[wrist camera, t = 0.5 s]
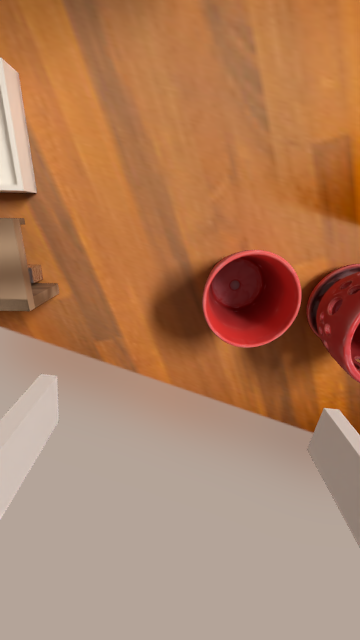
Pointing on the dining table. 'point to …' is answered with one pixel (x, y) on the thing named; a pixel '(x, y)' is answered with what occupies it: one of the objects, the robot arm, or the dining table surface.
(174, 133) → the dining table surface
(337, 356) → the plant pot
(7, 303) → the shelf
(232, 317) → the flower pot
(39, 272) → the small stepped grey block
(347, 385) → the dining table surface
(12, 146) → the tray
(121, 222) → the dining table surface
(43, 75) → the dining table surface
